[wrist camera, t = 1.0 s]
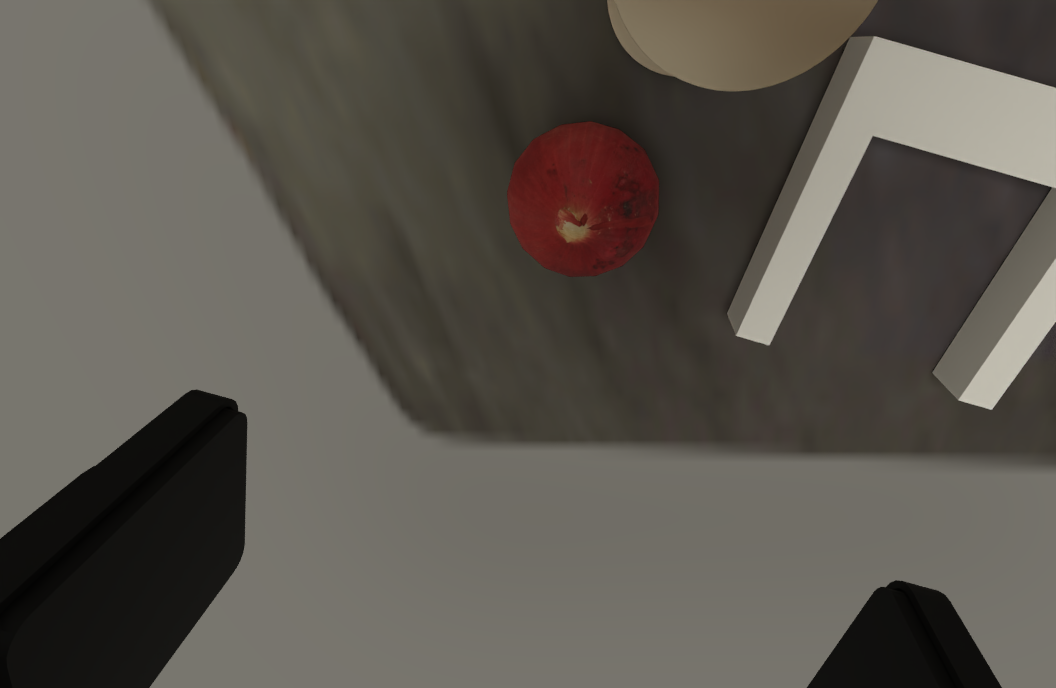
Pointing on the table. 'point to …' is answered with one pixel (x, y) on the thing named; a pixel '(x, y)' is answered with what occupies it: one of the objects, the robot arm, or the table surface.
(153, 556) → the robot arm
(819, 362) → the table surface
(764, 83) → the spool
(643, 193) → the pomegranate
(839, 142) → the notched board
